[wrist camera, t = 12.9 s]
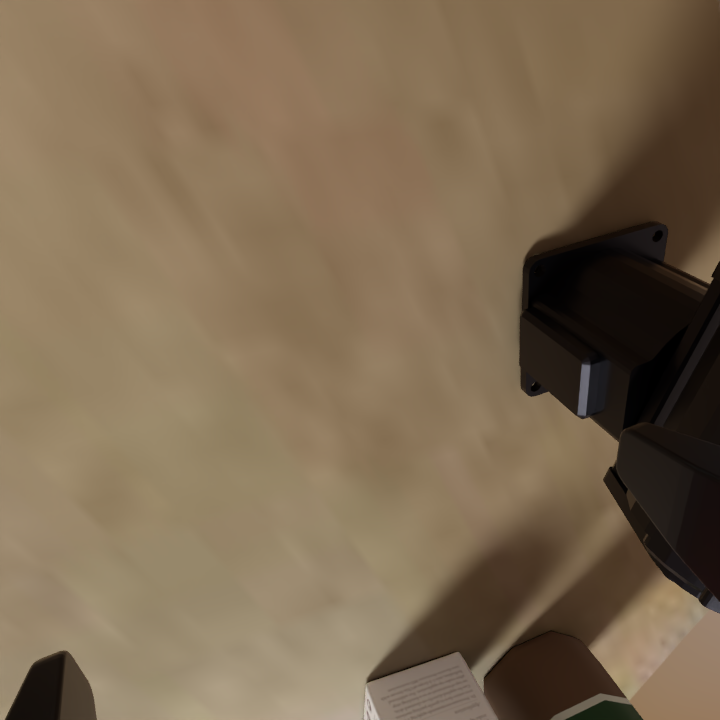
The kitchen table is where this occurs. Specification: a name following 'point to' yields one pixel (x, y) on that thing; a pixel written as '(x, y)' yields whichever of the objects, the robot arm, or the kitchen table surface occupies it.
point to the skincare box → (428, 693)
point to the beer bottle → (554, 683)
